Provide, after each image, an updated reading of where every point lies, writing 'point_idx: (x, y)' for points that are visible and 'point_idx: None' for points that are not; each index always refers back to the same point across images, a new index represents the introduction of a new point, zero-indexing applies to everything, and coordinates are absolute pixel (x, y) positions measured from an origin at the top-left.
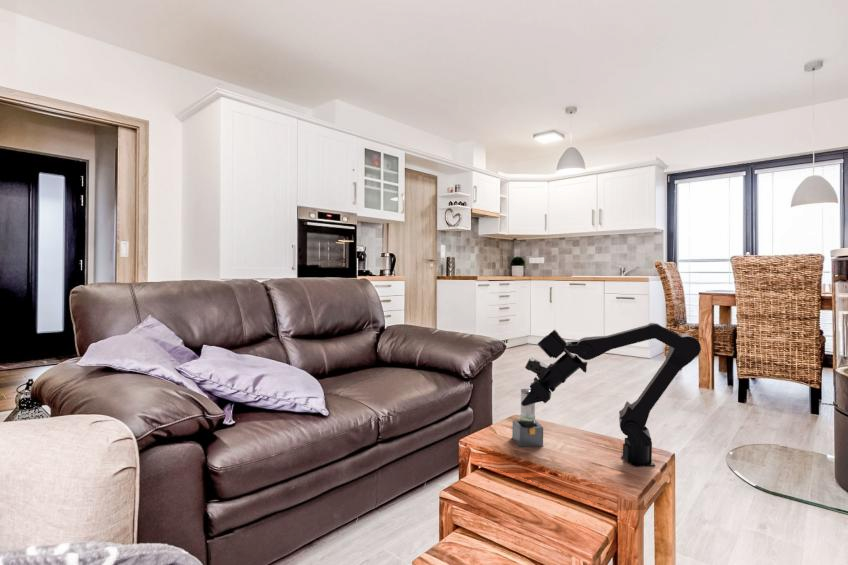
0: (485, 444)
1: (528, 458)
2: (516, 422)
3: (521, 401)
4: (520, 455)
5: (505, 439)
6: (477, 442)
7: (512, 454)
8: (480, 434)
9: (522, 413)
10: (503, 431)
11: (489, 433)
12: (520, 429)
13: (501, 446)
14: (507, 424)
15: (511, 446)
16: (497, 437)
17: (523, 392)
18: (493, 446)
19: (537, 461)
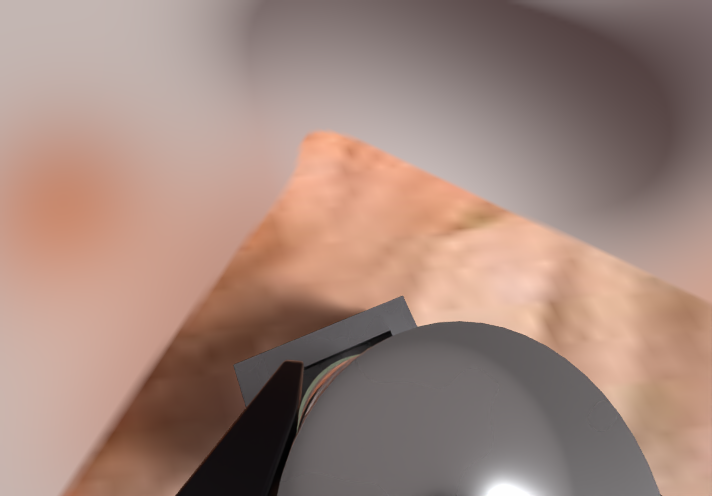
0: (288, 200)
1: (147, 430)
2: (360, 328)
3: (350, 359)
4: (183, 380)
5: (383, 283)
6: (302, 166)
7: (189, 336)
8: (403, 169)
9: (321, 378)
10: (486, 264)
11: (432, 204)
12: (237, 370)
13: (284, 273)
14: (590, 274)
15: (298, 321)
16: (395, 244)
17: (318, 401)
18: (273, 236)
19: (109, 490)
